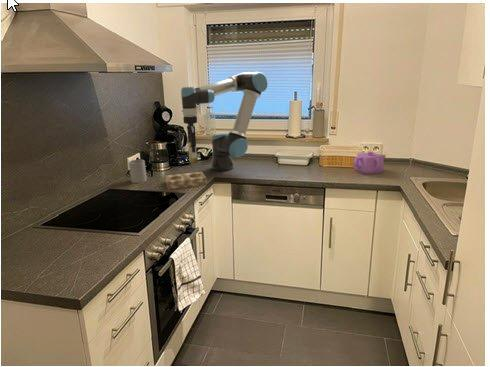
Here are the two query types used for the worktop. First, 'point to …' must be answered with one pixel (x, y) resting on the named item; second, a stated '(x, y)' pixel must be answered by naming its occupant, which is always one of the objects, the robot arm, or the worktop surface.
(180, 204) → the worktop surface
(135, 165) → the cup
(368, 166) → the teakettle
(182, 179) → the jig
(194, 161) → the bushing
